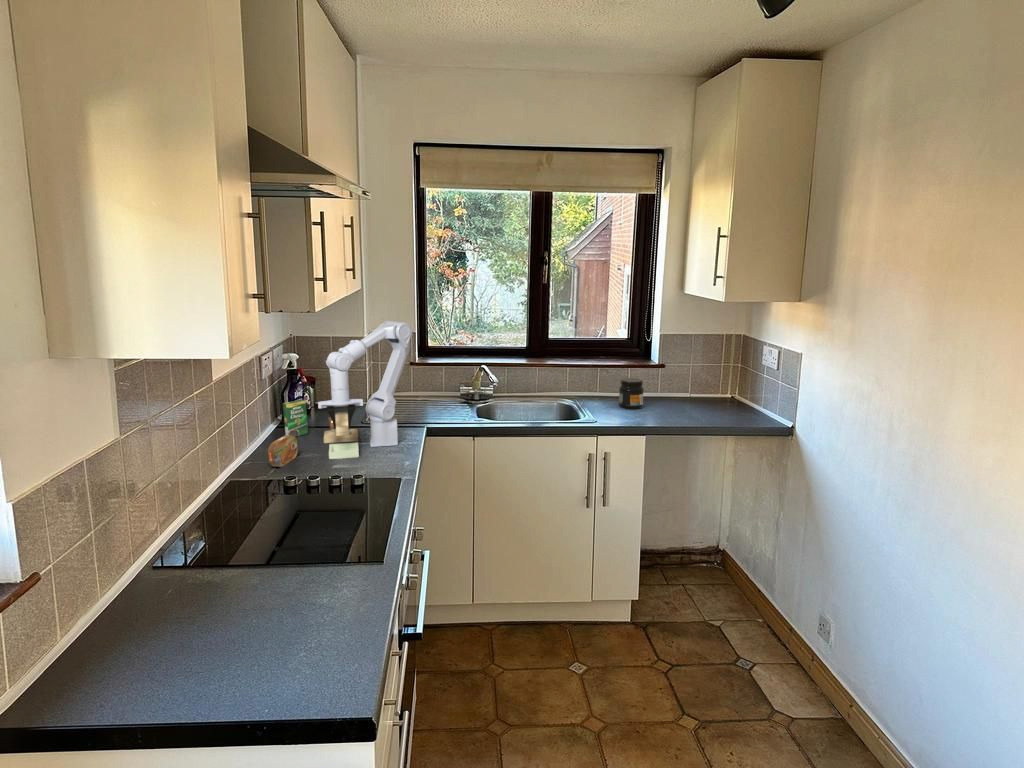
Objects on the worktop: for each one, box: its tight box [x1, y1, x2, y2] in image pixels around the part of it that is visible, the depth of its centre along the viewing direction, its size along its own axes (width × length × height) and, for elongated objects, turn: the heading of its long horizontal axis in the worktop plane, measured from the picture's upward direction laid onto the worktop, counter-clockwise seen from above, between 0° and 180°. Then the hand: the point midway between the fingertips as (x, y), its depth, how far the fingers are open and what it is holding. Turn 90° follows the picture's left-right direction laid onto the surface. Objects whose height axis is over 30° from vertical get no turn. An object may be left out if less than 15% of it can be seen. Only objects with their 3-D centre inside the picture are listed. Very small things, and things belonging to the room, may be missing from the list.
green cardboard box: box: [282, 398, 309, 438], centre depth 251 cm, size 8×3×13 cm, turn 133°
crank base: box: [323, 428, 359, 444], centre depth 250 cm, size 12×11×2 cm
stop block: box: [335, 411, 350, 436], centre depth 229 cm, size 4×4×7 cm
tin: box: [267, 434, 299, 468], centre depth 221 cm, size 15×3×8 cm, turn 168°
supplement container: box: [618, 377, 645, 410], centre depth 295 cm, size 10×10×12 cm
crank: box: [327, 416, 352, 434], centre depth 251 cm, size 11×3×5 cm, turn 59°
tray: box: [328, 442, 360, 460], centre depth 231 cm, size 10×10×2 cm
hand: (342, 427), depth 230 cm, fingers closed on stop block, 4 cm apart
